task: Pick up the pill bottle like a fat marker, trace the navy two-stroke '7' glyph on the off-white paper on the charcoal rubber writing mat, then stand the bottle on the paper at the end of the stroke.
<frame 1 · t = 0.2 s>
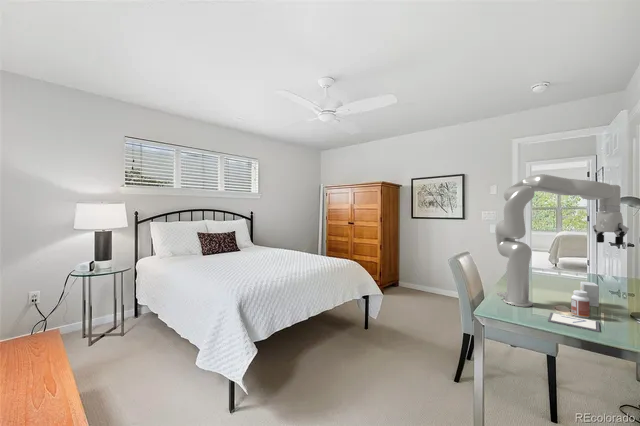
hand: (609, 243, 146), 31 cm above the table, tool pointing down, fingers open, 9 cm apart
writing mat: (573, 322, 124), on the table
small box: (589, 304, 148), on the table
pill bottle: (580, 316, 131), on the table
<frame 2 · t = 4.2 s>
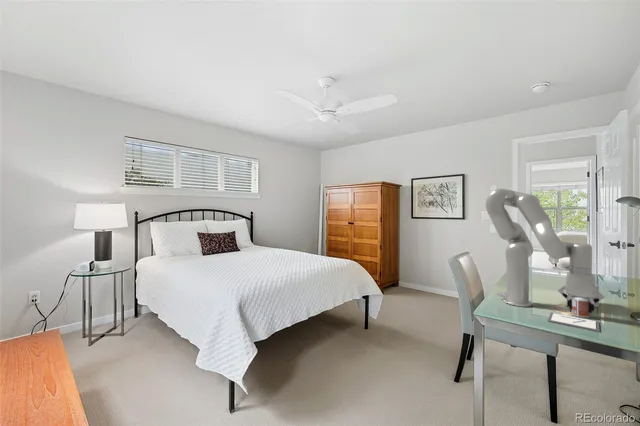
hand: (580, 309, 131), 3 cm above the table, tool pointing down, fingers closed on pill bottle, 6 cm apart
pill bottle: (580, 316, 131), on the table, touching gripper
everything else where it was.
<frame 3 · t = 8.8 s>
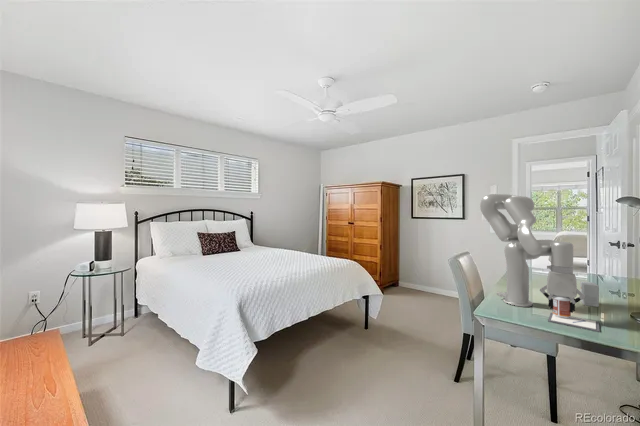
hand: (561, 309, 129), 4 cm above the table, tool pointing down, fingers closed on pill bottle, 6 cm apart
pill bottle: (561, 316, 129), point 1 cm above the table, touching gripper
everything else where it was.
when the fingers open (3 cm above the table, at t = 13.3 s): pill bottle stays where it is, resting on writing mat.
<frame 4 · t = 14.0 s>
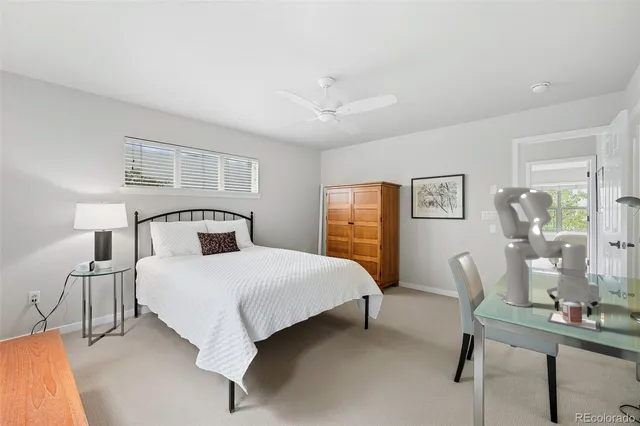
hand: (572, 313, 122), 4 cm above the table, tool pointing down, fingers open, 9 cm apart
pill bottle: (572, 322, 122), point 1 cm above the table, touching writing mat
everything else where it was.
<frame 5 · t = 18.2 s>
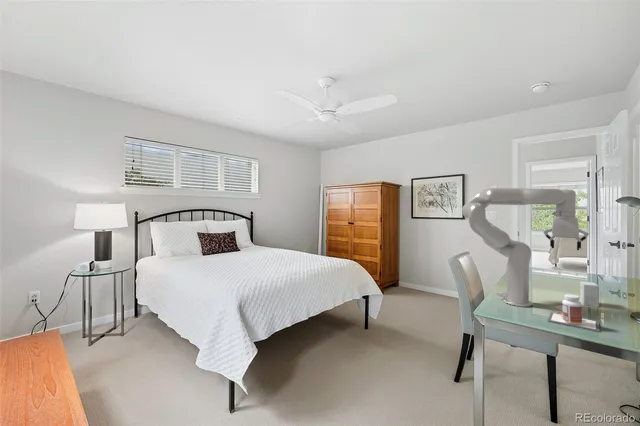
hand: (565, 249, 145), 28 cm above the table, tool pointing down, fingers open, 9 cm apart
nothing on the table moved.
at the end: pill bottle inside the target area on the writing mat (1.9 cm from its centre), point 0.6 cm above the writing mat's base; pill bottle tilted 2°; pill bottle moved 15.1 cm from its start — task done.
